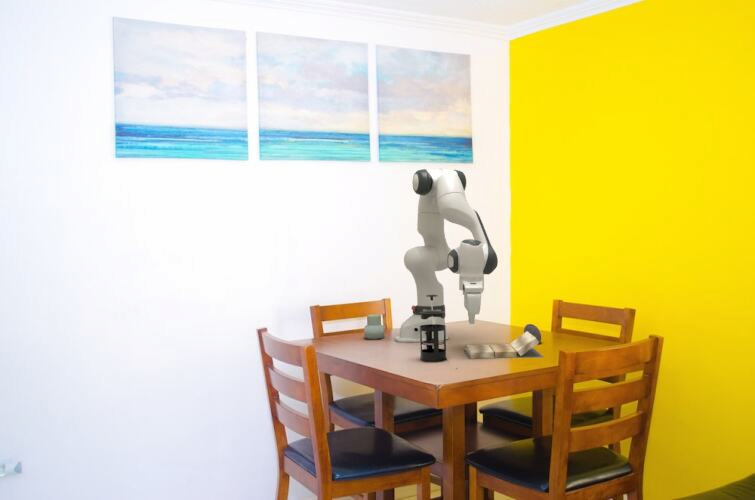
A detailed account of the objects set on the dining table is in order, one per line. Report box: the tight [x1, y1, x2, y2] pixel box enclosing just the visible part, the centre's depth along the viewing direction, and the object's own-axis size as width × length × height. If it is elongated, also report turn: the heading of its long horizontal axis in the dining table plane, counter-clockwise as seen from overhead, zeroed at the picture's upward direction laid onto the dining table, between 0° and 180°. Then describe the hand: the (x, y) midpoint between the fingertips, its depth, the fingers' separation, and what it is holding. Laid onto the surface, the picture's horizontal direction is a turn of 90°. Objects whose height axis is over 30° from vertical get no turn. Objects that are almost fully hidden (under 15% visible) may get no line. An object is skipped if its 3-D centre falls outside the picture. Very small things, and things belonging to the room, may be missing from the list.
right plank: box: [509, 331, 539, 356], centre depth 251 cm, size 8×16×2 cm
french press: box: [419, 295, 448, 363], centre depth 248 cm, size 12×9×23 cm
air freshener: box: [363, 313, 385, 340], centre depth 299 cm, size 11×8×10 cm
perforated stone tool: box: [523, 323, 542, 345], centre depth 275 cm, size 15×5×7 cm, turn 179°
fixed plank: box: [488, 343, 517, 359], centre depth 251 cm, size 7×16×2 cm, turn 179°
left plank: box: [465, 344, 494, 358], centre depth 252 cm, size 8×16×2 cm, turn 179°
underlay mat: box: [463, 347, 544, 360], centre depth 251 cm, size 26×18×1 cm
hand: (471, 323), depth 252 cm, fingers closed
